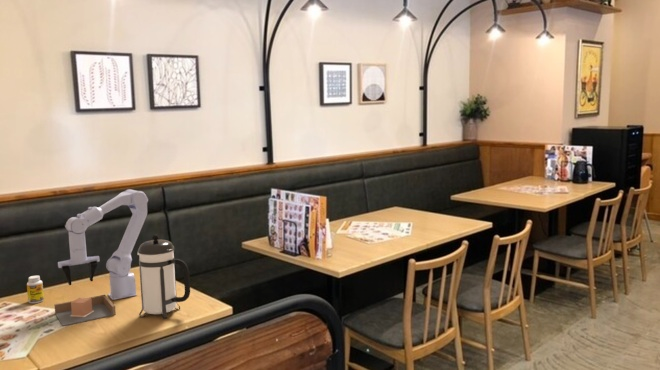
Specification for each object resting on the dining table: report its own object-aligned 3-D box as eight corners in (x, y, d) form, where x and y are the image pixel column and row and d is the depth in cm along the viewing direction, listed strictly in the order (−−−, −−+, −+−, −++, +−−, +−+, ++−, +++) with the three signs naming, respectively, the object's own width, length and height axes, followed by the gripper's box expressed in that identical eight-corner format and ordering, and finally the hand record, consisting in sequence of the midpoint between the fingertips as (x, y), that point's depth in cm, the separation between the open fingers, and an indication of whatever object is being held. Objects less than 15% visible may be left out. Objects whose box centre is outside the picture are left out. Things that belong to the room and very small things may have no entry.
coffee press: (142, 324, 192) (137, 241, 188) (136, 310, 206) (131, 232, 202) (192, 315, 199) (187, 235, 195) (182, 302, 213) (178, 227, 209)
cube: (80, 310, 205) (79, 297, 204) (92, 311, 204) (91, 298, 203) (72, 315, 200) (70, 302, 199) (84, 316, 199) (83, 302, 199)
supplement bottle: (29, 305, 213) (26, 279, 212) (27, 301, 218) (25, 276, 217) (44, 302, 216) (42, 277, 215) (43, 298, 221) (41, 273, 220)
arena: (105, 302, 214) (104, 294, 214) (115, 314, 201) (115, 306, 201) (55, 313, 204) (54, 304, 204) (62, 326, 191) (61, 317, 191)
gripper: (95, 243, 216) (98, 276, 217) (55, 249, 207) (58, 283, 209) (99, 246, 210) (102, 280, 212) (58, 253, 202) (61, 288, 203)
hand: (80, 282), depth 210 cm, fingers open, 7 cm apart
